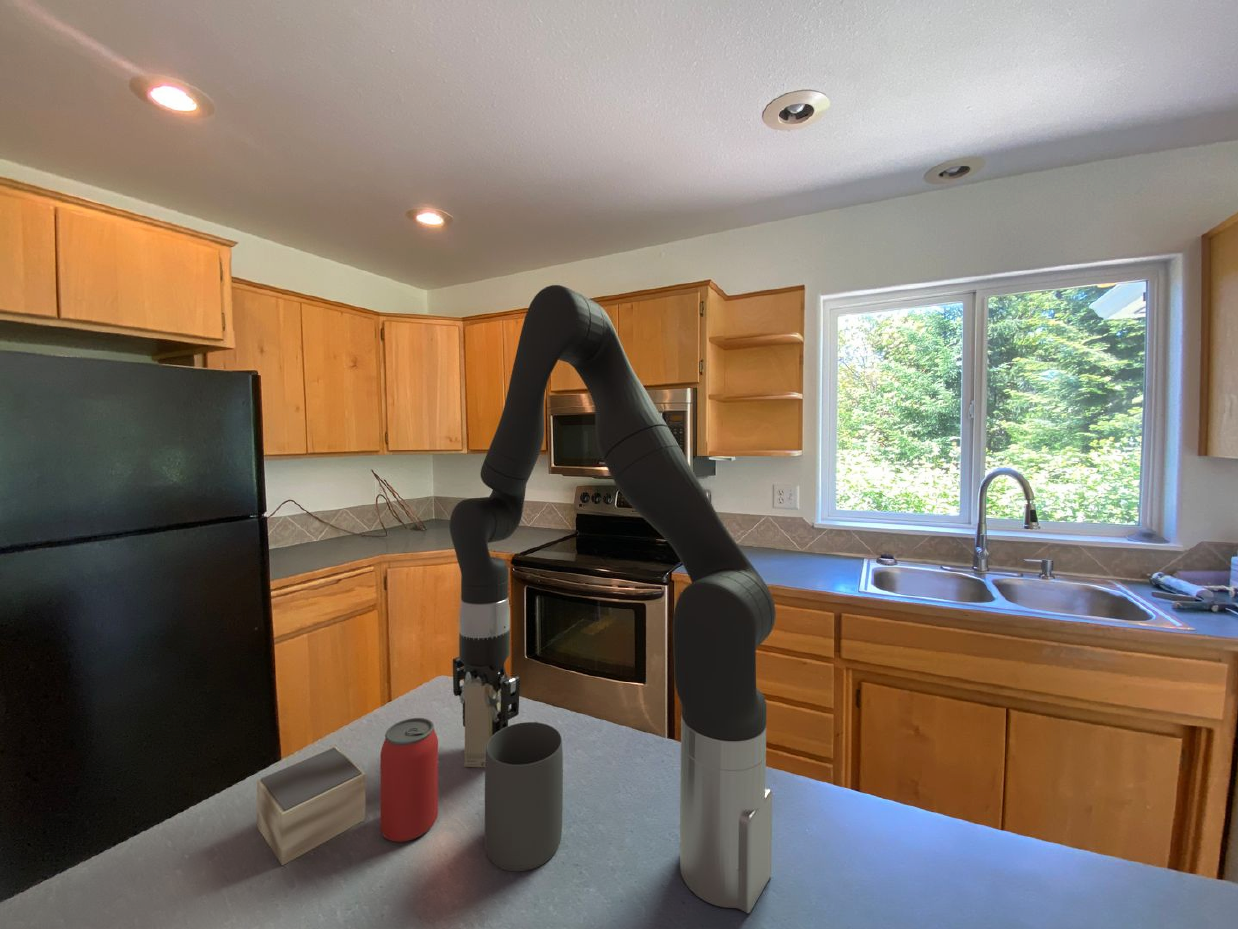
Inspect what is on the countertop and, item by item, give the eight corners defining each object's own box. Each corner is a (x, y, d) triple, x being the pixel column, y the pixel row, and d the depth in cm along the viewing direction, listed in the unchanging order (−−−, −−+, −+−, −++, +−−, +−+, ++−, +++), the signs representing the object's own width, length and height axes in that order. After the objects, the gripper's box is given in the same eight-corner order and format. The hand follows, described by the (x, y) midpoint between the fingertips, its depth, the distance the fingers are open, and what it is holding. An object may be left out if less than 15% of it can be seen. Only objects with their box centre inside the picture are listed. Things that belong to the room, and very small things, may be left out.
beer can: (417, 850, 57) (417, 748, 57) (367, 840, 58) (368, 741, 58) (448, 810, 63) (448, 718, 63) (403, 802, 64) (403, 712, 64)
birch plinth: (365, 819, 61) (365, 772, 61) (282, 865, 54) (282, 812, 54) (335, 788, 67) (335, 745, 67) (257, 827, 60) (257, 779, 60)
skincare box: (492, 769, 71) (493, 686, 71) (463, 768, 72) (463, 686, 71) (503, 743, 78) (504, 667, 78) (476, 742, 78) (477, 667, 78)
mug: (556, 874, 54) (557, 767, 53) (474, 873, 54) (474, 766, 53) (570, 790, 67) (570, 704, 67) (504, 789, 67) (504, 703, 67)
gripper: (535, 631, 73) (534, 740, 73) (477, 611, 82) (477, 709, 82) (493, 646, 67) (493, 764, 67) (436, 623, 76) (436, 728, 76)
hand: (484, 733), depth 75 cm, fingers closed on skincare box, 7 cm apart
